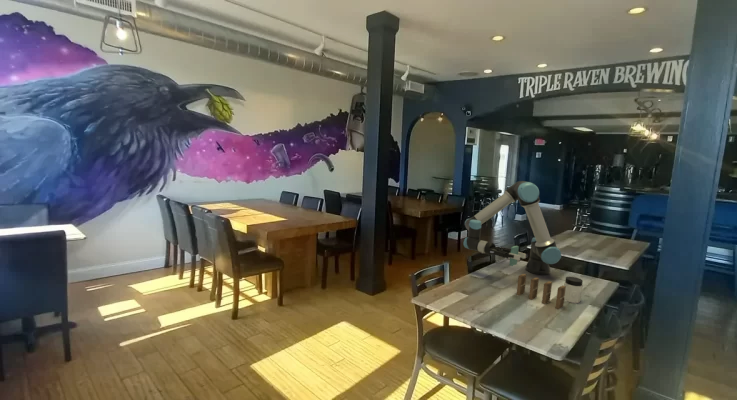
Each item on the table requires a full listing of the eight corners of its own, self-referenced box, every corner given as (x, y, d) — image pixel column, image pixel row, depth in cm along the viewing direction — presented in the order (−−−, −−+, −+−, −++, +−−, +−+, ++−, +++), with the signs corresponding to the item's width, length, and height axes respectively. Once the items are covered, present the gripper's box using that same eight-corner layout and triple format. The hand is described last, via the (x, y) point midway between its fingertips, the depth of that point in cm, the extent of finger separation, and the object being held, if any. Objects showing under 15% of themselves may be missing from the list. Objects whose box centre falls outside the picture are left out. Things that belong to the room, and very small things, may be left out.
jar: (563, 301, 198) (566, 280, 197) (560, 295, 206) (563, 275, 204) (582, 304, 196) (585, 282, 194) (578, 298, 203) (581, 277, 202)
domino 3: (546, 300, 198) (548, 281, 197) (549, 301, 197) (552, 282, 195) (541, 303, 194) (543, 283, 193) (544, 304, 193) (547, 284, 191)
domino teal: (514, 263, 220) (515, 245, 218) (517, 264, 218) (518, 246, 217) (509, 265, 216) (510, 247, 214) (512, 266, 214) (513, 247, 213)
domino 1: (521, 292, 209) (523, 273, 207) (524, 293, 207) (526, 274, 206) (516, 294, 205) (518, 275, 203) (519, 295, 203) (521, 276, 202)
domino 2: (533, 296, 204) (535, 277, 202) (536, 297, 202) (539, 278, 201) (528, 298, 200) (530, 279, 198) (531, 299, 198) (534, 280, 197)
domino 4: (559, 305, 193) (562, 285, 192) (563, 306, 192) (566, 286, 190) (555, 307, 189) (557, 287, 188) (558, 309, 188) (561, 288, 186)
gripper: (494, 251, 236) (529, 260, 219) (477, 255, 224) (513, 266, 207) (495, 240, 235) (530, 248, 218) (478, 244, 223) (515, 253, 205)
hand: (522, 257), depth 212 cm, fingers closed on domino teal, 6 cm apart
